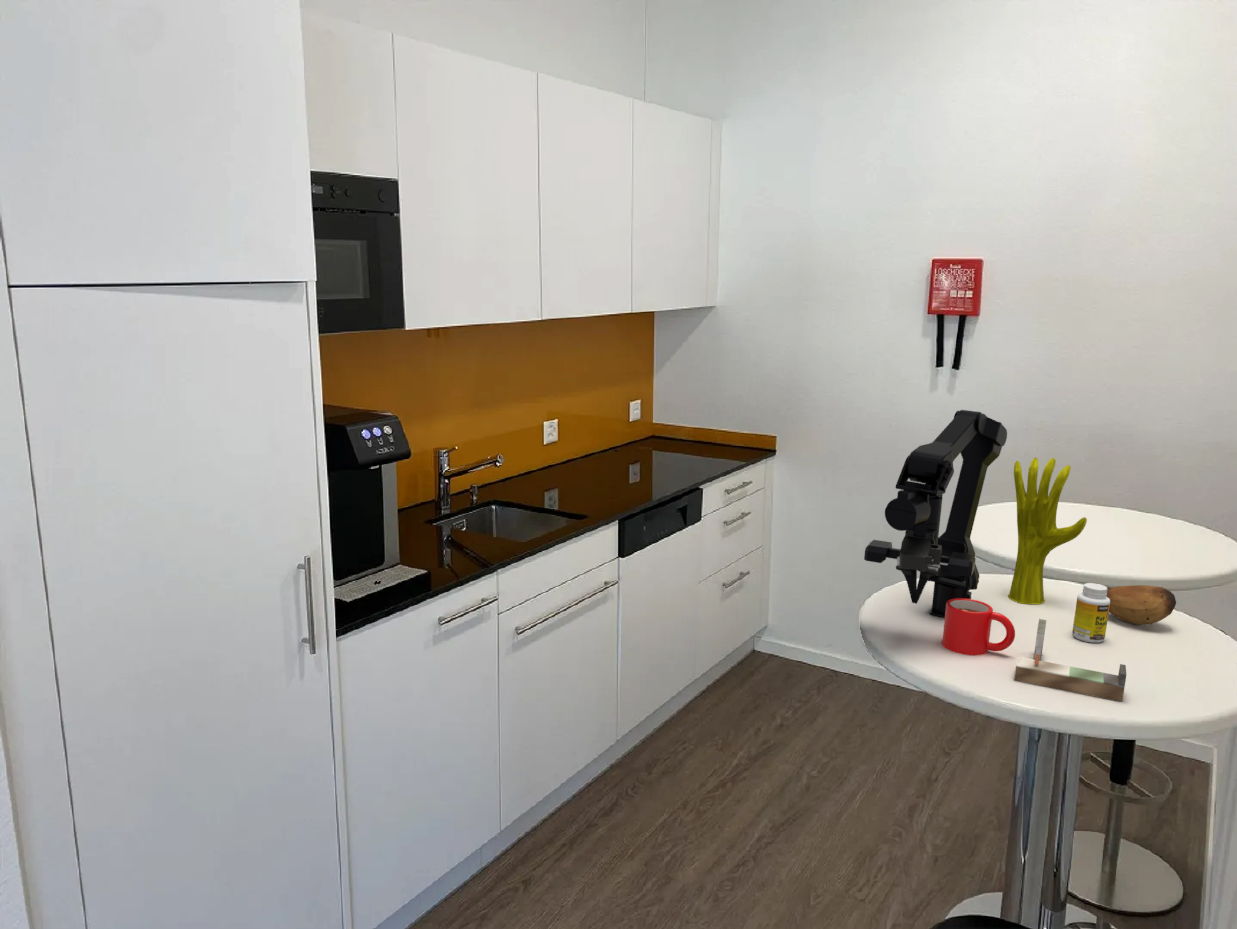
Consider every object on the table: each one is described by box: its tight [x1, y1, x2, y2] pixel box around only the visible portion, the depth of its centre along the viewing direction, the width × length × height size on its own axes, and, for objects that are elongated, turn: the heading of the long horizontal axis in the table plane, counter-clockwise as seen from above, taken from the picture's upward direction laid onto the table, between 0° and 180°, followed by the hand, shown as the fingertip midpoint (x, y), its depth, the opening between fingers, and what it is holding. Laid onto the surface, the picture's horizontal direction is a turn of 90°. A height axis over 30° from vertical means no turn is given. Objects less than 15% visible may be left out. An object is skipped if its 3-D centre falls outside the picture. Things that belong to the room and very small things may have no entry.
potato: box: [1106, 584, 1177, 626], centre depth 187 cm, size 8×14×8 cm
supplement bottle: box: [1071, 582, 1110, 644], centre depth 178 cm, size 6×6×10 cm
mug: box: [941, 598, 1016, 656], centre depth 170 cm, size 8×12×8 cm, turn 61°
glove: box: [1007, 457, 1088, 606], centre depth 196 cm, size 15×8×30 cm, turn 49°
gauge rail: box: [1014, 656, 1127, 702], centre depth 156 cm, size 16×4×5 cm, turn 64°
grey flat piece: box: [1033, 618, 1047, 664], centre depth 164 cm, size 1×14×6 cm, turn 154°
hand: (914, 602), depth 175 cm, fingers closed
